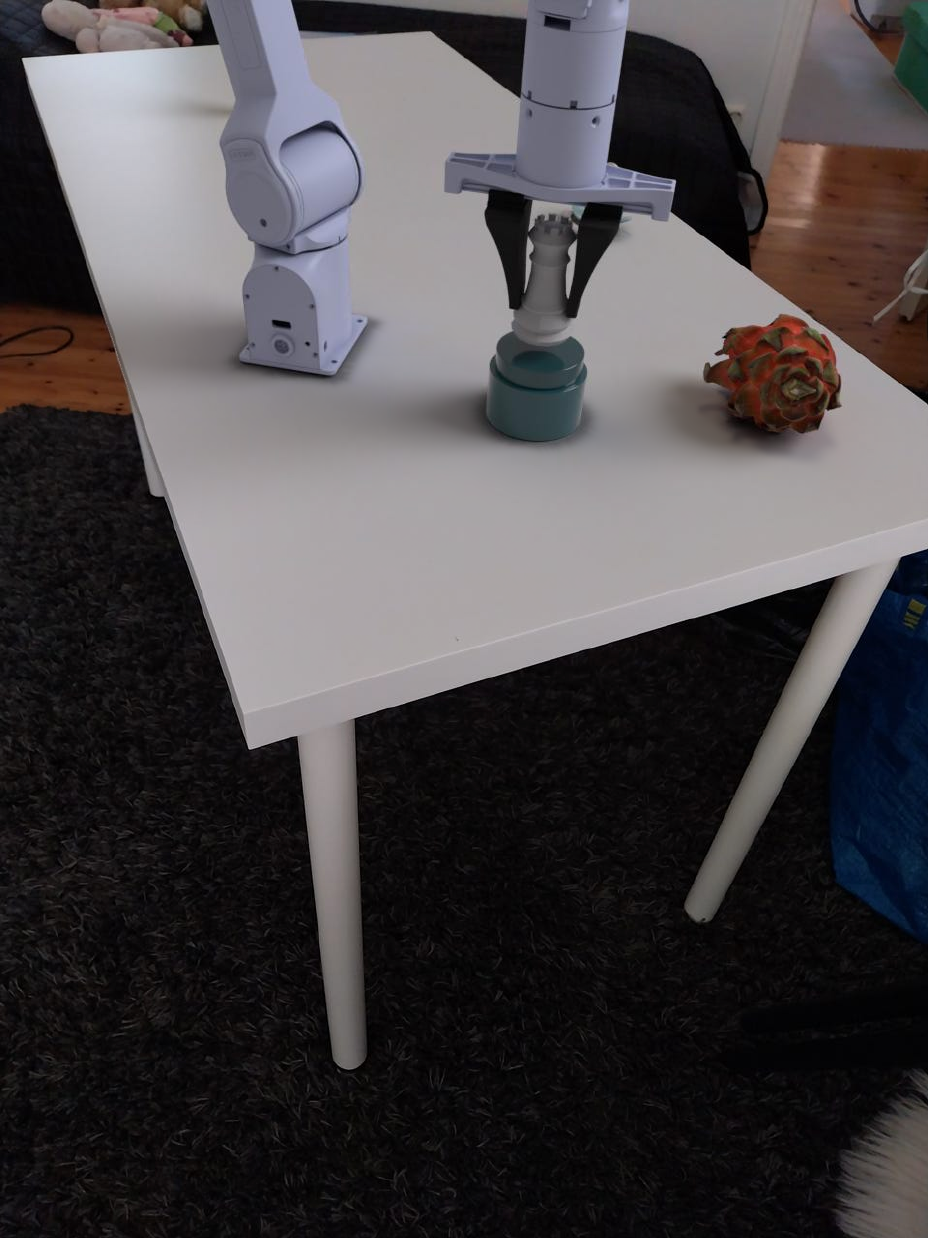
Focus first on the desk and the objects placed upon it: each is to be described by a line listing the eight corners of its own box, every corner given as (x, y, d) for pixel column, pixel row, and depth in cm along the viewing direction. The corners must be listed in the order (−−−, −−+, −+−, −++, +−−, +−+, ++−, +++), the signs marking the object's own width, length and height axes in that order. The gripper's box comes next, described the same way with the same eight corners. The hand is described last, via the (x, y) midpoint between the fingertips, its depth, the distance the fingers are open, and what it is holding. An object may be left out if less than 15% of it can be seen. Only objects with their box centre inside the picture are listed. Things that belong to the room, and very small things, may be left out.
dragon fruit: (797, 483, 71) (709, 418, 80) (890, 405, 70) (791, 348, 79) (755, 407, 65) (666, 346, 75) (856, 321, 64) (753, 270, 73)
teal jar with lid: (573, 448, 70) (583, 381, 66) (477, 432, 71) (481, 365, 67) (586, 397, 75) (596, 332, 71) (496, 383, 76) (501, 318, 72)
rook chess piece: (568, 352, 67) (584, 238, 61) (505, 343, 67) (514, 230, 62) (576, 322, 70) (591, 211, 64) (515, 314, 70) (525, 203, 65)
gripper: (693, 88, 59) (653, 296, 69) (465, 62, 61) (456, 268, 71) (687, 125, 55) (644, 343, 64) (438, 95, 56) (433, 312, 66)
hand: (544, 307), depth 67 cm, fingers closed on rook chess piece, 3 cm apart
